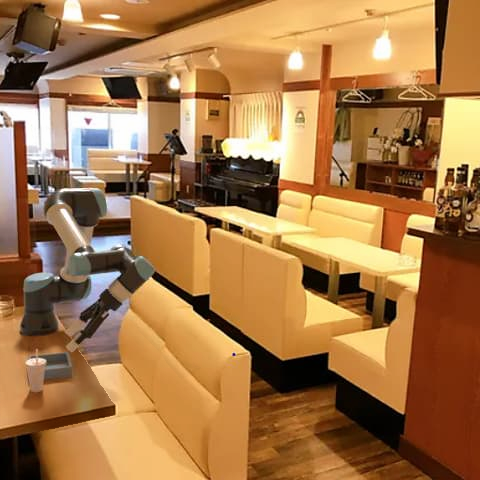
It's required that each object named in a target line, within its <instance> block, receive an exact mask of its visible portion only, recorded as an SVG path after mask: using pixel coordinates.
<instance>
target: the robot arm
mask: <svg viewBox="0 0 480 480" xmlns="http://www.w3.org/2000/svg"><path fill="white" fill-rule="evenodd" d="M107 213H108V205H107V200H106V196H105V193H104V192H103V191H102V190H101V189H100V188H98V187H88V188H87V187H85V188H80V187H76V188H74V187H70V188H66V187H65V188H58V189H56V190H54V191H52V192H51V194H49V195H48V196H47V198H46V199H45V201H44V204H43V214H44V218H45V219H46V221H47V222H48V224H49V225H51V226H53V227H54V229H55V231H56V232H57V234H58V236H59V237H60V239H61V241H62V242H63V245H64V246H65V249H66V255H65V256H66V257H65V262H64V266H63V267H62V268H60V271H59V275H58V274H57V275H54V274H53V273H52V272H48V271H47V272H38V273H33V274H31V275H28V276H27V277H26V278H25V279H24V281H23V288H22V290H23V309H24V312H23V316H22V318H21V321H20V325H19V331H20V333H21V334H24V335H26V336H33V337H34V336H46V335H50V334H54V333H55V332H57V331H58V330H59V322H58V319H57V316H56V313H55V307H54V306H55V305H57V304H63V303H70V302H80V301H83V300H86V299H87V298H88V297H89V296H90V295H91V291H92V287H93V286H92V284H93V283H92V277H91V276H92V275H93V276H94V275H100V274H109V273H120V274H119V275H118V276H117V277H116V278H115V279H114V280H113V281H112V282H111V283H110V284H109V285H108V286H107V287H108V288H105V289H104V290H103V291H102V292H101V293H100V294H99V298H98V299H97V300H96V301H95V302H93V303H92V304H91V305H89V306H88V307H86V308H85V309H84V310H83V311H81V312H80V315H79V316H78V318H76V319H75V320H74V322H72V324H70V325H69V327H68V328H67V329H65V330H64V333H65V334H66V335H67V336H68V337H70V338H71V337H72V336H74V335H75V334H76V333H77V332H79V333H78V334H77V335H76V336H75V337H74V338H73V339H72V340H71V341H69V343H67V344H66V345H65V348H66V349H67V350H68V351H69V352H71V353H73V352H75V350H76V349H78V348H79V347H80V345H82V344H83V343H84V341H86V340H87V339H91V338H92V337H93V335H94V334H95V333H96V331H98V329H99V328H100V327H101V326H102V324H103V323H104V321H105V320H106V319H108V317H109V316H110V314H109V311H110V310H111V311H113V312H116V311H118V309H120V307H122V306H123V303H125V302H126V301H128V300H129V299H132V296H133V295H134V293H136V292H137V291H138V290H139V289H140V288H141V287H143V285H144V284H145V283H146V282H147V281H149V279H150V278H151V277H152V276H153V275H154V274H155V272H156V268H155V267H154V266H153V265H152V263H151V262H150V261H149V260H148V259H146V258H145V257H144V256H143V255H140V256H138V257H137V256H136V255H135V253H134V252H133V250H131V249H130V248H129V247H128V246H127V245H125V244H121V243H120V244H119V243H118V244H116V245H115V246H114V245H113V246H112V247H111V248H110V249H109V250H99V251H95V250H94V247H93V246H92V238H93V233H94V227H96V226H97V225H98V224H99V221H100V218H101V219H103V218H104V217H106V216H107ZM85 324H86V326H85V327H84V329H82V330H80V329H81V328H82V327H83V326H84V325H85Z"/></svg>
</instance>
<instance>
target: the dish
mask: <svg viewBox="0 0 480 480" xmlns="http://www.w3.org/2000/svg"><path fill="white" fill-rule="evenodd" d="M27 358H28V359H27V360H29V359H33V358H36V354H32V355H31V354H30V355H28V357H27ZM38 358H43V359H45V360H46V365H45V372H44V381H45V380H55V379H56V380H57V379H63V378H70V377H71V378H72V377H73V365H72V361H71V358H70V353H69V352H68V351H64V352H54V353H43V354H42V353H41V354H38Z"/></svg>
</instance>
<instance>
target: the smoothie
mask: <svg viewBox="0 0 480 480" xmlns="http://www.w3.org/2000/svg"><path fill="white" fill-rule="evenodd" d="M35 355H36V358H33V359H29V360H28V359H27V360H26V361H25V367H26V370H27V376H28V383H29V390H30V392H31V393H39V392H41V391H43V388H44V381H45V380H44V372H45V365H46V360H45V359H43V358H38V355H39V349H38V348H36V349H35Z"/></svg>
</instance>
